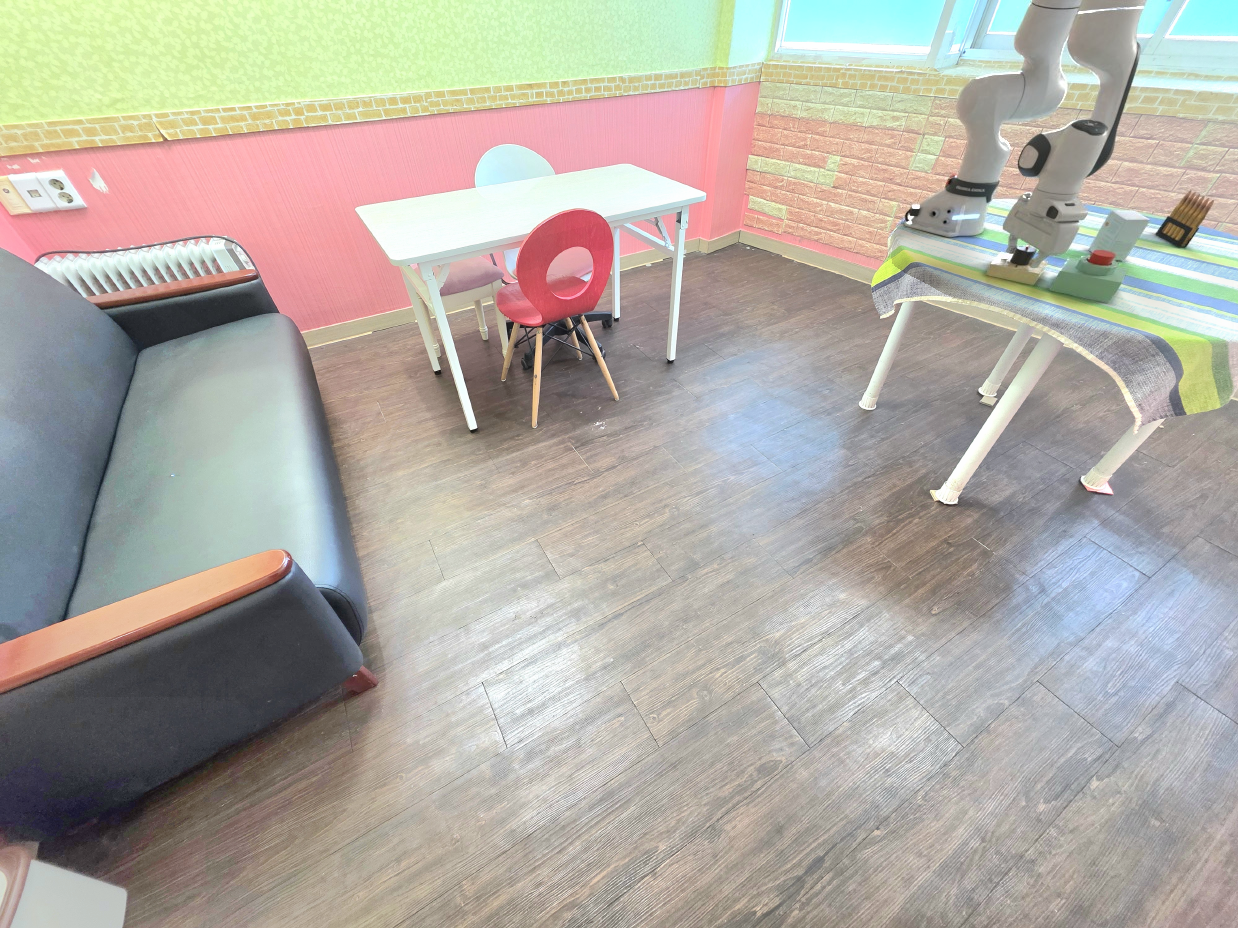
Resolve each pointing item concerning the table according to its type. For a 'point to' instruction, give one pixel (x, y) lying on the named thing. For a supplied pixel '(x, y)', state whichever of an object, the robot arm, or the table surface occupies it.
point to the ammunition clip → (1184, 220)
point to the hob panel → (1014, 270)
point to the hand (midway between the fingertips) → (1021, 260)
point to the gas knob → (1023, 255)
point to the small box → (1120, 233)
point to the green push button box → (1089, 279)
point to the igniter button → (1101, 257)
